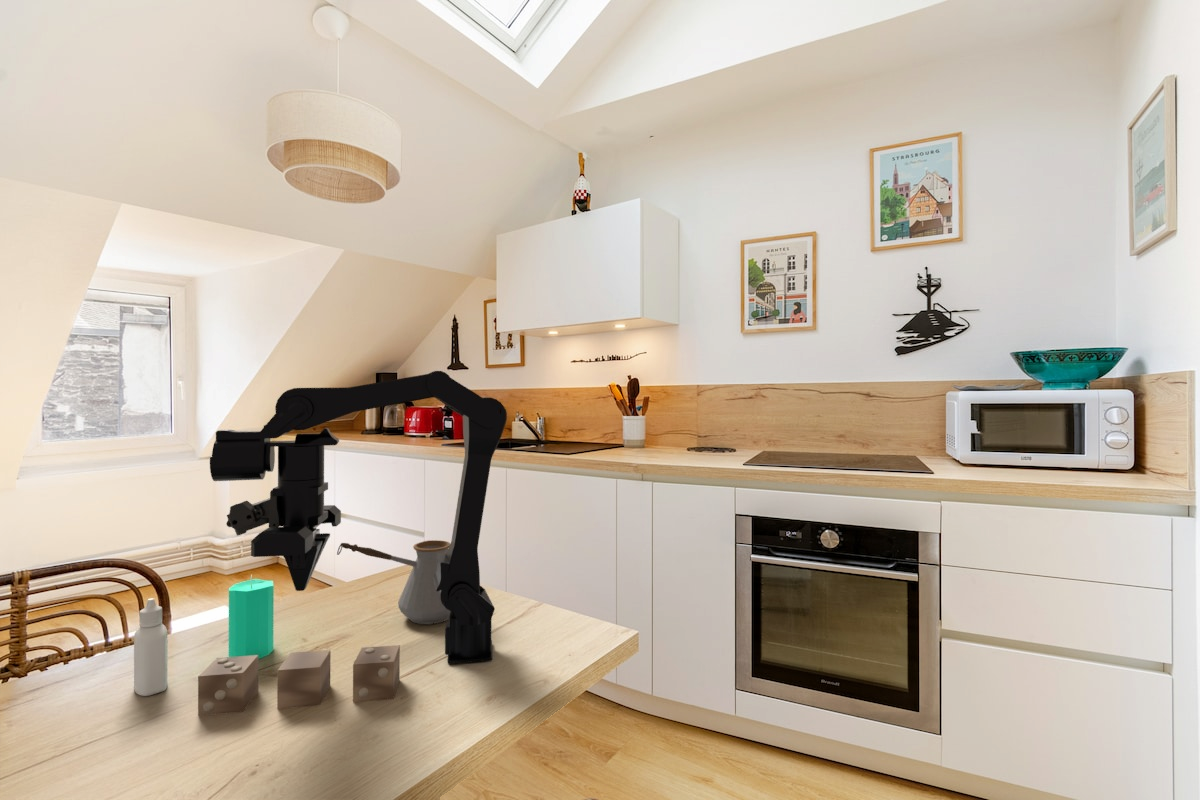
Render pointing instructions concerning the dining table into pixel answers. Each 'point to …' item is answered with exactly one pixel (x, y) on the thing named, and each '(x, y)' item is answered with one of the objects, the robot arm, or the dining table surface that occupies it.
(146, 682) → the eye dropper bottle
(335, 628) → the dining table surface
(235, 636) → the candle
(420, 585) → the coffee pot
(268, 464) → the robot arm
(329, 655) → the plain block
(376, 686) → the two dot block
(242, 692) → the three dot block
